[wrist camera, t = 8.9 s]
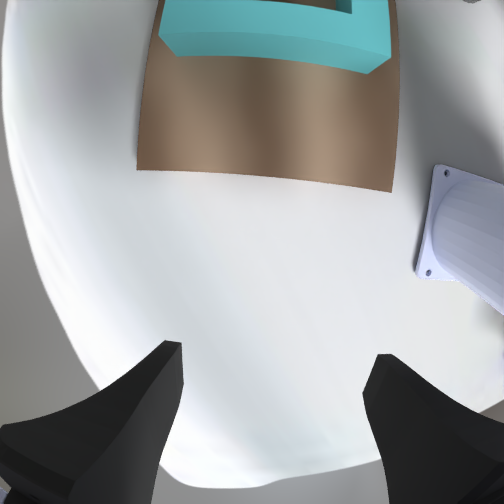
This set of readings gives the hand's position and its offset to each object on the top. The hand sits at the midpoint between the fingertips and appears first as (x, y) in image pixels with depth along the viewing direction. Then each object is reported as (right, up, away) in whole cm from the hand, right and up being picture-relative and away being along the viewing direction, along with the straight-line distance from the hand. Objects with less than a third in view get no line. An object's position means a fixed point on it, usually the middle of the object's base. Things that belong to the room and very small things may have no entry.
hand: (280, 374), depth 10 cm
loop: (+1, +20, +2) cm, 20 cm away
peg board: (+1, +18, +4) cm, 18 cm away
